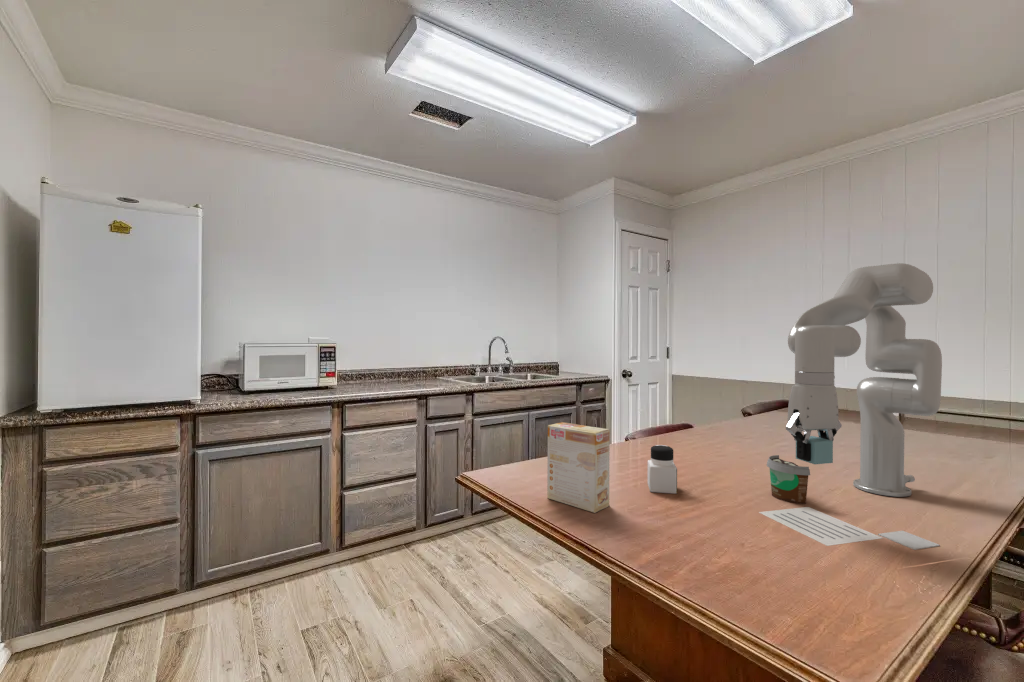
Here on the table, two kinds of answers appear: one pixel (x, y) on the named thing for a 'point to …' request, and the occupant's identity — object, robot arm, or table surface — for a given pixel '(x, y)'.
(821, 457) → the teal block
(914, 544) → the mat
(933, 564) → the table surface
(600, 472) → the coffeecake box
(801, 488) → the food container
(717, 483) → the table surface
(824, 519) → the letter
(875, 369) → the robot arm
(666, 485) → the medicine bottle
